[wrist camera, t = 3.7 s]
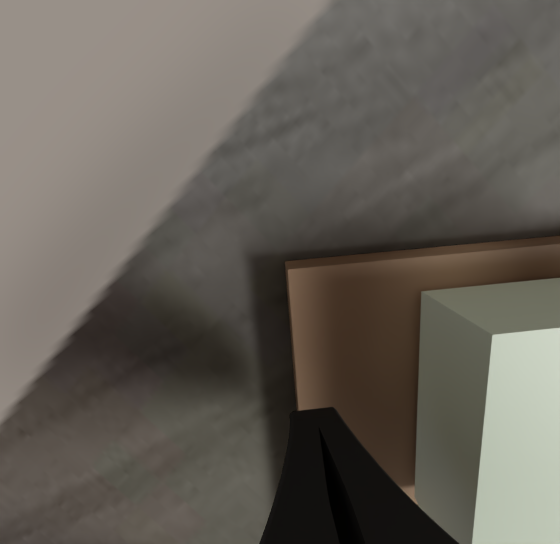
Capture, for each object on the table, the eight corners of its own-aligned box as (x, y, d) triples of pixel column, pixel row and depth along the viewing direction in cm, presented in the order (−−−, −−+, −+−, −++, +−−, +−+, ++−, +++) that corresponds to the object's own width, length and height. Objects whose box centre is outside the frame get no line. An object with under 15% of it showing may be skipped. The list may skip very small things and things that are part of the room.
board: (315, 650, 15) (320, 692, 14) (284, 261, 10) (288, 270, 9) (620, 607, 16) (652, 643, 15) (728, 219, 11) (791, 223, 10)
